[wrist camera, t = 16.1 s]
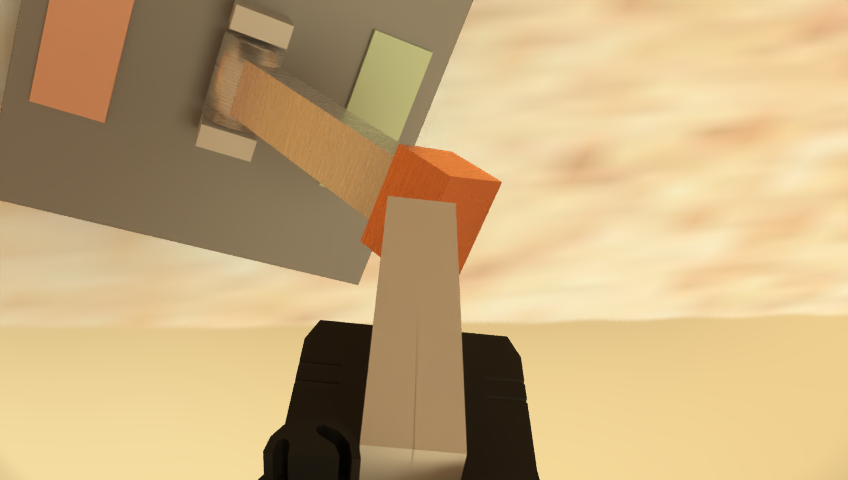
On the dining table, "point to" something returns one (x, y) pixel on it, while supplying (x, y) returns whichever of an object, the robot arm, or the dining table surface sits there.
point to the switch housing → (197, 135)
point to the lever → (340, 143)
